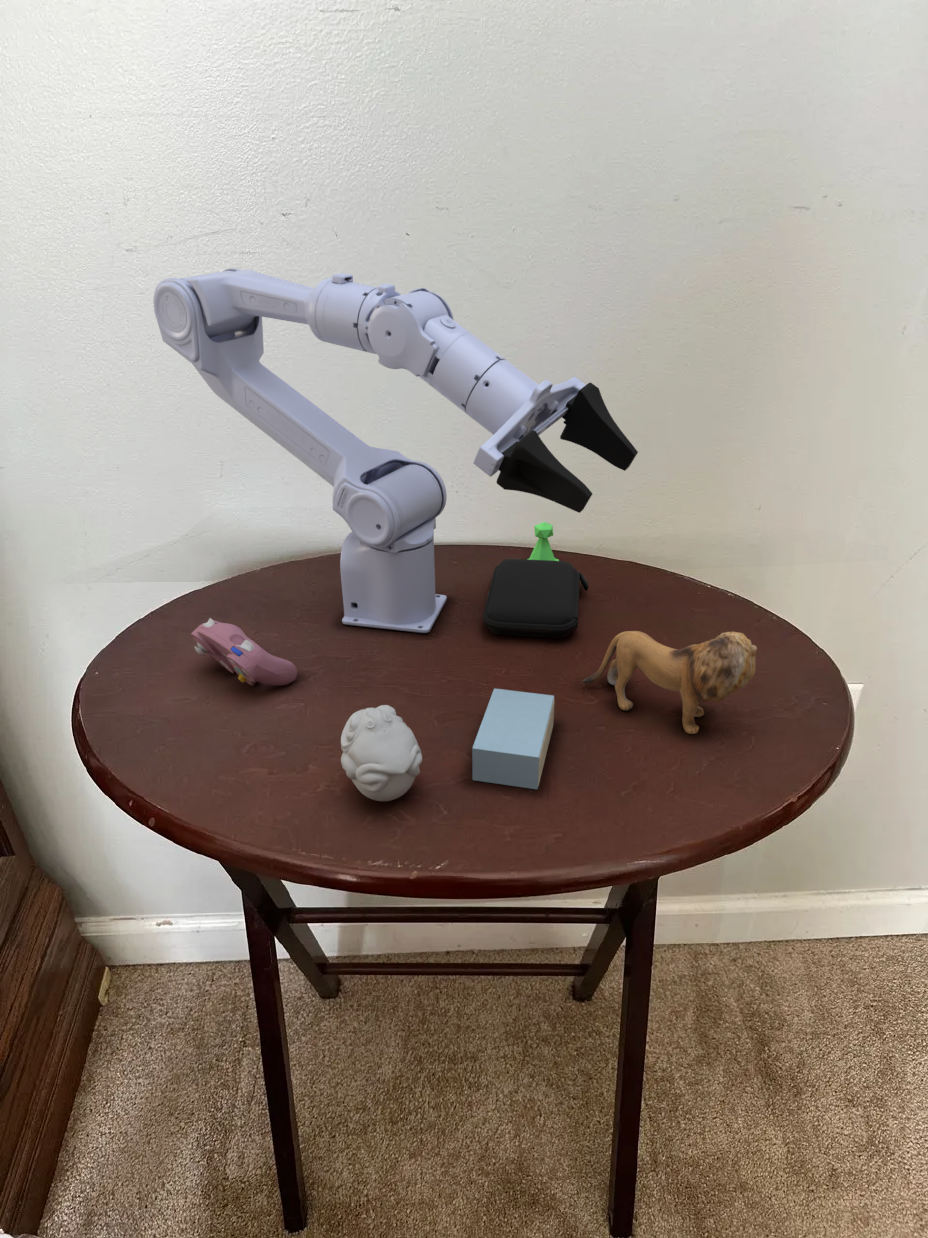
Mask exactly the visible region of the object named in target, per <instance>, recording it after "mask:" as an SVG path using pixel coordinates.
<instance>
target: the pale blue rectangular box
mask: <svg viewBox="0 0 928 1238" xmlns="http://www.w3.org/2000/svg"><path fill="white" fill-rule="evenodd" d="M554 719H555V695H553V694H544V693H536V692H527V691H520V690H511V689H503V688H493V690H492V693H491V696H490V699H489V701H488V704H487V706H486V709H485V712H484V714H483V717H482V720H481V723H480V725H479V727H478V728H479V729H478V731H477V734H476V737H475V739H474V742H473V744H472V747H471V758H472V759H471V761H472V762H471V763H472V764H471V765H472V767H471V768H472V770H471V773H472V775H471V776H472V781H475V782H481V783H482V782H483V783H488V784H494V785H495V784H496V785H504V786H510V787H516V788H517V787H518V788H523V789H530V790H539V786H540V783H541V779H542V778H541V777H542V775H543V771H544V770H543V769H544V766H545V763H546V757H547V754H548V753H547V752H548V750H549V749H548V748H549V745H550V741H551V737H552V733H553V728H554V722H555V721H554Z"/></svg>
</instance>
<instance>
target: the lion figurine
mask: <svg viewBox="0 0 928 1238" xmlns="http://www.w3.org/2000/svg"><path fill="white" fill-rule="evenodd" d="M747 637H748V636H746V635H745V634H744V633H743V632H737V631H726V632H721V633H720V635H717V636H716V637H715V638H711V639H709V640H705V641H704V642H701V643H698V644H697V643H696V644H695V643H694V644H690V645H687V646H686V647H683V648H680V649H677V648H673V647H670V646H667V645H664V644H662V643H660V642H658V641H656V640H655V639H654V638H653V637H651V636H650V635H648V634H647V633H645V632H644V631H643V632H642V631H640V630H627V631H622V632H620V633H618V634H617V635H615V636H614V637H613V639H612V640H611V641H610V643H609V645H608V647H607V649H606V652H605V653H604V657H603V659H602V661H601V663H600V664H601V665H600V666H599V668H598V669H597V671H596V672H594V674H592V675H589V676H587V677H586V678H584V679H583V680H582V681H581V682H582V683H584V684H586V685H592V684H593V683H595V682H596V681H597V680H599V678H600V677H601V676H602V675H603V673H604V672H605V671H606V669H607V666H608V665H609V668H608V671H607V675H606V679H607V682H608V683H609V684H610V685H612V686H614V691H615V693H616V699H617V704H618V707H619V709H620V710H622V711H627V712H628V711H630V710H631V709H633V706H634V703H633V701H631V700H629V699H628V698H627V697H626V691H625V690H626V686H627V684H628V682H629V681H630V680H631V678H632V676H633V674H634V672H635V670H636V669H639V670H640V671H642V673H643V674H644V676H646V677H647V679H649V680H650V681H651V682H652V683H653V684H655V685H657V686H658V687H660V688H661V689H664V690H668V691H671V692H676V693H679V695H680V697H681V701H682V720H681V722H682V727H683V730H684V732H685V733H686V734H689V735H695V734H697V733H699V729H700V727H699V725H697V724H696V721H695V717H696V718H701V717H702V716H704V714H705V711H704V708H703V707H701V706H699V704H700V701H702V702H708V701H710V702H715V703H719V702H721V701H723V700H725V698H726V697H727V696H728V695H729V694H733V693H735V692H736V691H738V690H741V689H744V687H745V686H747V685H748V684H749V682H750V681H751V680H752V679H753V677H754V676H755V674H756V655H757V651H758V648H757V646H756V645H755V644H752V640H751V639H749V638H747ZM614 653H615V656H616V657H615V659H613V660H612V661H611V659H612V657H613V655H614ZM610 661H611V662H610ZM609 663H610V664H609Z"/></svg>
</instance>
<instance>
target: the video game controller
mask: <svg viewBox="0 0 928 1238" xmlns="http://www.w3.org/2000/svg"><path fill="white" fill-rule="evenodd" d="M190 636H191V638H192V639H193V640H194V642H195V643H196V645H197V646H196V645H195V646H194V650H195V652H196V653H197V654H198V655H200V656H204V657H205V656H206V654H209V655H210V656H211V657H213V658H214V659H215V660H216V662H218V664H220V665H221V666H222V667H224V668H225V669H226V670H227V671H228V672H230V673H232V674H234V673H236V674H237V675H238V678H237V679H238V681H240V682H241V683H245V682H246V683H247V684H248V685H250V686H252V687H253V686H254V685H255V684H256V683H262V684H263V685H264V684H265V685H269V686H277V687H278V686H287V685H289V684H291V683H293V682H294V681H295V680H296V678H297V675H298V669H297V667H296V665H295V664H294V663H293V662H292V661H290V660H288V659H286V658H281V657H278V656H276V655H273V654H271V653H269V652H267V650H265V649H264V648H262V647H261V646H260V645H258V644H257V643H256V642H255V641H254V640H253V639H251V638H250V637H249V636H247V635H246V634H245V632H244V631H243V630H242V629H241V628H240V627H239V626H237V625H235V624H232V623H228V622H221V621H218V620H213V619H212V618H211V617H209V618H208V620H207V621H206V622H204V623H201V624H199V625H198V626H197V627H196V628H195V629H194V630H192V632H191V633H190ZM205 653H206V654H205Z"/></svg>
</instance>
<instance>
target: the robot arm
mask: <svg viewBox="0 0 928 1238" xmlns="http://www.w3.org/2000/svg"><path fill="white" fill-rule="evenodd" d="M153 310H154V317H155V318H156V322H157V325H158V329H159V332H160V335H161V339H162V341H163V343H165V344H166V345H167V346H169V348H172V350H174V351H175V352H177V353H178V354H179V355H180V356H182V357H183V358H185V359H186V360H187V361H188V362H189V363H190V364H192V366H193V367H194V368H195V370H196V371H197V373H198V374H199V375H200V376H201V378H202V379H203V381H204V382H205V383H206V385H207V386H208V387H209V389H211V391H212V392H213V393H214V394H215V395H216V396H217V397H219V398H220V399H221V400H222V401H224V403H226V404H227V405H229V406H230V407H231V408H232V409H234V410H235V411H236V412H237V413H239V414H240V415H241V416H243V417H244V418H245V419H246V420H248V421H249V422H250V423H251V424H253V425H254V426H255V427H256V428H258V429H259V430H261V431H262V432H263V433H264V434H266V435H267V436H268V437H269V438H271V439H272V440H273V441H274V442H275V443H277V444H278V445H280V446H281V447H282V448H283V449H285V450H286V451H287V452H288V453H290V454H291V455H292V456H293V457H295V458H296V459H297V460H298V461H300V462H301V463H303V464H304V465H305V466H306V467H308V468H309V469H310V470H312V472H314V473H315V474H317V475H318V477H321V479H323V480H324V481H325V482H327V483H328V484H329V485H331V486H332V487H333V490H332V500H331V501H332V510H333V511H334V512H335V513H336V514H338V515H339V516H340V518H342V519H343V520H344V521H345V523H346V525H348V528H349V529H350V530H351V531H350V532H349V533H348V534H347V535H346V536H345V538H344V541H343V543H342V546H341V551H340V559H339V560H340V561H339V569H340V570H339V571H340V582H341V592H342V603H343V617H342V619H341V622H342V624H343V625H346V626H347V625H348V626H357V627H364V628H365V627H366V628H375V629H383V630H394V631H401V632H411V633H420V634H429V633H430V632H431V630H432V628H433V626H434V624H435V623H436V620H437V619H438V617H439V615H440V613H441V611H442V610H443V608H444V606H445V605H446V602H447V600H448V597H447V595H445V594H439V593H436V567H435V565H436V564H435V563H436V561H435V536H434V535H435V531H434V530H436V528H437V519H436V518H437V517H438V516H440V515H441V514H442V513H443V511H444V509H445V507H446V505H447V498H448V497H447V496H448V495H447V494H448V493H447V488H446V485H445V482H444V479H443V478H442V476H441V475H440V473H439V472H438V471H437V470H436V469H435V468H434V467H432V466H431V465H430V464H428V463H426V462H425V461H420V460H415V459H414V460H413V459H411V458H408V457H407V456H405V455H404V454H402V453H401V452H400V451H397V450H393V449H387V448H381V447H375V446H370V445H368V444H367V443H366V442H365V441H363V440H362V439H361V438H359V437H358V436H356V435H355V434H354V433H353V432H352V431H350V430H349V429H347V428H346V427H345V426H344V425H342V424H341V423H339V422H338V421H337V420H336V419H334V418H333V417H332V416H330V415H329V414H328V413H326V412H325V411H323V410H322V409H321V408H320V407H319V406H317V405H316V404H314V402H312V401H311V400H309V399H308V398H307V397H305V396H304V395H303V394H302V393H300V392H299V391H297V390H296V389H295V388H294V387H292V386H291V385H290V384H288V383H287V382H286V381H284V380H283V379H282V378H280V377H279V376H278V375H277V374H275V373H274V372H273V371H271V370H270V369H268V368H267V367H266V366H265V365H264V364H262V363H261V361H260V360H261V358H262V356H263V355H264V352H265V350H264V329H263V318H267V319H272V320H273V319H274V320H279V321H285V322H291V323H297V324H303V325H308V327H309V328H310V331H311V332H312V334H313V335H314V337H316V338H317V339H318V340H319V341H321V342H323V343H329V344H332V345H336V346H340V347H344V348H347V349H353V350H357V351H361V352H364V353H370V354H374V355H377V356H378V364H379V365H381V366H383V367H385V368H387V369H391V370H400V369H401V370H407V371H409V372H410V373H411V374H413V376H415V377H417V378H418V377H419V378H420V379H421V380H422V381H424V382H425V383H426V384H428V385H429V386H430V387H432V388H433V389H434V390H435V391H437V392H438V393H439V394H440V395H442V396H443V397H444V398H445V399H446V400H448V401H449V402H451V403H452V404H453V405H454V406H456V407H457V408H458V409H459V410H461V411H462V412H463V413H465V414H466V415H467V416H468V417H469V418H471V419H472V420H474V421H475V422H476V423H478V424H479V425H480V426H481V427H483V428H484V429H485V430H486V431H488V432H489V433H490V434H491V435H492V436H491V437H490V438H488V439H487V440H486V441H485V442H484V443H483V444H481V445H480V446H479V447H478V450H477V451H476V452H477V453H476V455H475V458H474V460H473V465H474V466H475V467H477V468H478V469H480V470H481V471H482V472H483V473H485V474H486V475H487V476H489V477H490V478H491V477H493V476H494V475H496V473H497V472H499V474H498V476H497V479H496V484H497V485H498V486H500V487H501V488H502V489H503V490H506V491H507V490H508V491H515V492H521V493H525V494H530V495H535V496H538V497H541V498H544V499H546V500H549V501H552V502H553V503H555V504H558V505H561V506H563V507H565V508H567V509H570V510H571V511H574V512H576V513H581V512H583V511H584V509H585V508H586V506H587V505H588V503H589V501H590V499H591V497H592V496H593V492H592V491H591V490H590V488H589V487H588V486H587V485H586V484H585V482H583V481H582V480H580V478H579V477H577V476H576V475H574V473H572V472H571V471H570V470H569V469H568V468H567V467H565V466H564V465H563V464H562V463H561V462H560V461H559V459H557V457H555V455H554V454H553V453H552V452H551V450H549V448H548V446H546V444H545V442H543V440H542V438H541V437H540V435H542V434H543V433H544V432H545V431H547V430H548V429H549V428H550V427H551V426H553V425H554V424H555V423H556V422H558V421H559V420H560V419H562V418H563V424H564V425H565V426H564V428H563V430H562V432H561V434H560V436H559V438H560V440H562V441H566V442H570V443H572V444H575V445H578V446H580V447H583V448H585V449H587V450H588V451H591V452H592V453H594V454H596V455H597V456H598V457H600V458H601V459H603V460H604V461H606V462H607V463H609V464H610V465H612V466H613V467H615V468H617V469H620V470H621V471H624V472H625V471H627V470H628V469H629V468H630V466H631V464H632V463H633V462H634V460H635V458H636V456H637V455H638V453H639V451H638V450H637V449H636V448H635V446H634V445H633V444H632V442H631V441H630V440H629V439H628V437H627V436H626V435H625V433H624V432H623V431H622V430H621V428H620V427H619V426H618V424H617V423H616V422H615V420H614V418H613V417H612V415H611V414H610V412H609V410H608V408H607V406H606V404H605V401H604V399H603V397H602V393H601V390H600V388H599V387H598V386H596V385H595V384H594V383H592V382H588V383H586V384H585V383H584V382H583V381H582V380H581V379H579V378H578V377H576V376H573V377H571V378H570V379H568V380H566V381H563V382H560V383H556V384H553V383H552V382H551V381H550V380H549V379H545V380H543V381H542V382H540V383H538V382H536V381H535V380H534V379H532V378H531V377H529V375H527V374H526V373H525V372H523V371H522V370H521V369H519V368H518V367H516V365H514V364H513V363H511V362H510V361H509V360H508V359H506V358H505V357H503V356H502V355H501V354H499V353H498V352H497V351H496V350H494V349H493V348H492V347H490V346H489V345H488V344H486V342H484V341H482V340H481V339H480V338H478V337H477V336H476V335H475V334H473V333H472V332H470V331H469V330H467V328H465V327H463V326H462V325H461V324H460V323H458V322H457V321H455V319H454V314H453V312H452V310H451V307H450V305H449V304H448V302H447V301H446V300H445V298H443V297H442V296H441V295H440V294H438V293H436V292H434V291H431V290H429V289H428V288H427V287H419V288H416V289H413V290H411V291H409V292H408V293H404V294H401V293H400V292H399V291H397V290H396V286H395V284H391V283H387V282H386V283H380V284H378V286H374V285H369V284H364V283H360V282H354V275H353V274H350V273H346V272H340V273H334V274H332V276H331V277H327V278H324V279H322V280H321V281H320V282H318V284H317V285H315V286H314V287H312V286H309V285H305V284H302V283H298V282H293V281H291V280H287V279H283V278H280V277H275V276H272V275H269V274H265V273H261V272H259V271H255V269H240V268H235V267H231V268H226V269H224V270H222V271H217V272H211V273H205V274H197V275H191V276H185V277H179V278H178V277H167V278H164V279H162V280H161V281H159V282H158V283H157V285H156V287H155V290H154V292H153Z"/></svg>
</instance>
